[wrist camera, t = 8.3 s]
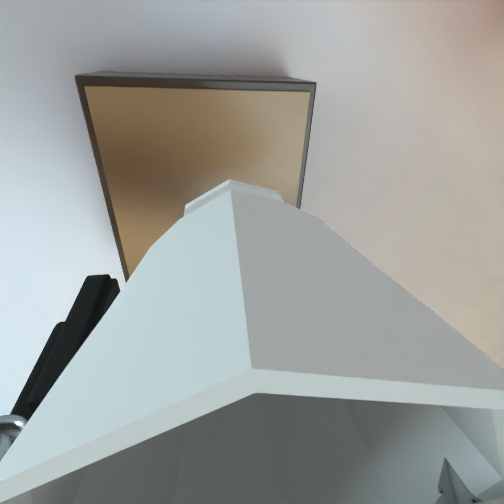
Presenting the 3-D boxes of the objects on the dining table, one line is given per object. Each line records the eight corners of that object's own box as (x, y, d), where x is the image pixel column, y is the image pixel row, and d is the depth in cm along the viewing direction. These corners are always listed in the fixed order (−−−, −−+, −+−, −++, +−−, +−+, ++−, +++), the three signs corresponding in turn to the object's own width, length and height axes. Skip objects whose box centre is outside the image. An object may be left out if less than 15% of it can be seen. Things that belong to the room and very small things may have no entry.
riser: (99, 71, 16) (70, 75, 12) (291, 77, 18) (319, 82, 14) (137, 253, 23) (126, 294, 19) (275, 244, 25) (292, 279, 21)
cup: (372, 217, 11) (638, 472, 4) (215, 369, 14) (217, 638, 8) (213, 79, 8) (213, 167, 1) (67, 311, 12) (-139, 659, 5)
